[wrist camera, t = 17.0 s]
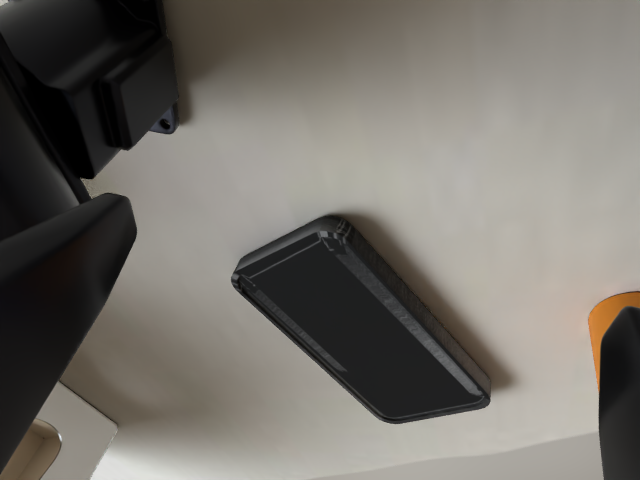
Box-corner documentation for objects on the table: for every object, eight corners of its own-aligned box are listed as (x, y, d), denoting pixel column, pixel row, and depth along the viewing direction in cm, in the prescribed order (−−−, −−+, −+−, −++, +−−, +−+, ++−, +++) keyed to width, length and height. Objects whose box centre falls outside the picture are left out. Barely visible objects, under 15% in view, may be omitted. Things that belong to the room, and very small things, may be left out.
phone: (331, 223, 24) (498, 406, 30) (337, 208, 24) (498, 389, 30) (221, 278, 28) (384, 427, 34) (228, 263, 29) (387, 411, 35)
